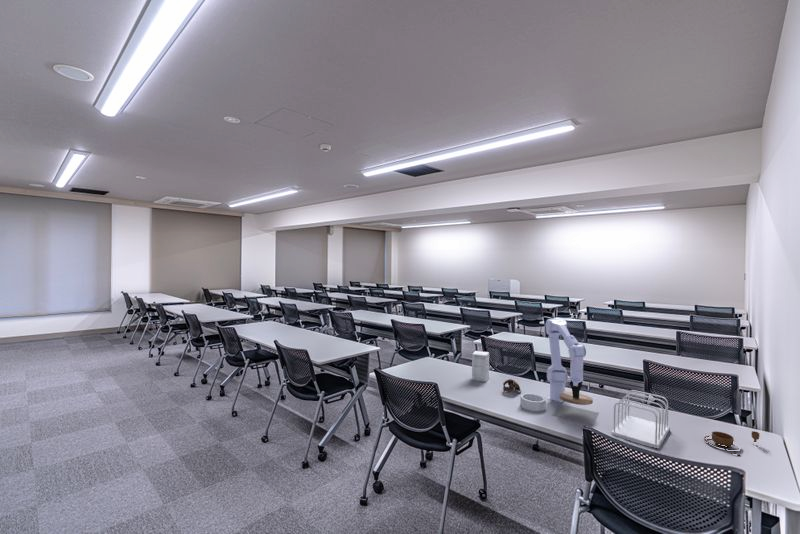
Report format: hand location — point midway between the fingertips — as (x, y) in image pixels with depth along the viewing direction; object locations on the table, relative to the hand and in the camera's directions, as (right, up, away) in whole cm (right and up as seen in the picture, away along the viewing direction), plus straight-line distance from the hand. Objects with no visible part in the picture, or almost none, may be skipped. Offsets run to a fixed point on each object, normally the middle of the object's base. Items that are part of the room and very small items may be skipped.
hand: (575, 396), depth 185 cm
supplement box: (-36, -8, +54) cm, 65 cm away
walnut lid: (0, -2, 0) cm, 2 cm away
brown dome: (-23, -9, +31) cm, 39 cm away
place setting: (+52, -12, -30) cm, 61 cm away
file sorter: (+21, -11, -18) cm, 30 cm away
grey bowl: (-18, -9, +9) cm, 22 cm away
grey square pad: (0, -9, 0) cm, 9 cm away
